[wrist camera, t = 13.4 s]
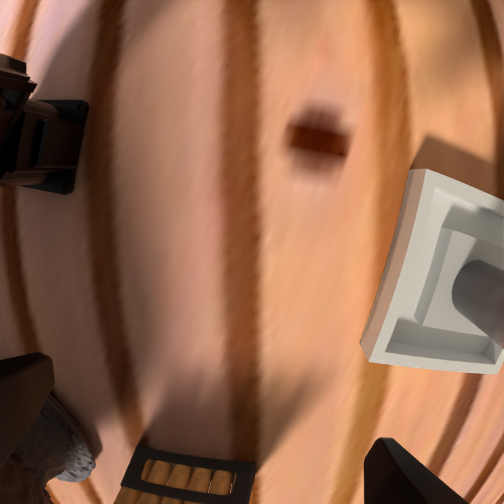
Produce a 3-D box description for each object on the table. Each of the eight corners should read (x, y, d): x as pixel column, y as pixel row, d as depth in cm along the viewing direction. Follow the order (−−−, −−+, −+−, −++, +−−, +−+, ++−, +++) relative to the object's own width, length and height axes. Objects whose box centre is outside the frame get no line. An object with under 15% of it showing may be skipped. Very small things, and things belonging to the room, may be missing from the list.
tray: (359, 342, 20) (368, 361, 18) (409, 169, 18) (426, 168, 15) (482, 359, 20) (497, 374, 18) (528, 219, 18) (549, 224, 15)
